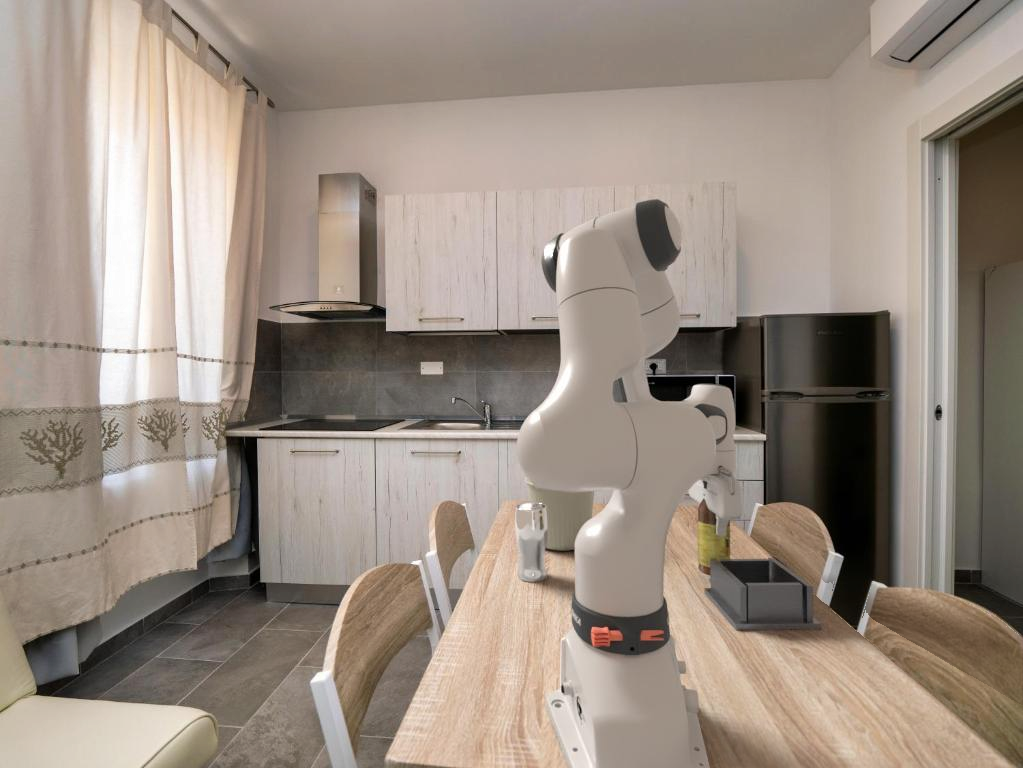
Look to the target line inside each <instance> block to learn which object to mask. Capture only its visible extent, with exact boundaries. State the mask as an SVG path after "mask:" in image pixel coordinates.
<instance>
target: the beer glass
mask: <svg viewBox="0 0 1023 768" xmlns="http://www.w3.org/2000/svg"><path fill="white" fill-rule="evenodd" d="M514 517H515V518H514V530H515V531H514V532H515V537H516V538H515V539H516V545H517V550H518V556H519V557H518V558H519V564H518V565H519V566H518V572H517V577H518V579H519V580H521V581H523V582H528V583H537V582H541V581H544V580H545V579H546V578H547V569H546V563H545V559H546V557H545V555H546V549H547V548H546V543H547V536H548V516H547V506H546V505H545V504H543V503H537V502H530V501H528V502H521V503H517V504H516V506H515V515H514Z"/></svg>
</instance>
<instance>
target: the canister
mask: <svg viewBox="0 0 1023 768" xmlns="http://www.w3.org/2000/svg"><path fill="white" fill-rule="evenodd" d="M524 482H525V483H526V484H527V491H528V493H527V494H528V499H529V501H528V502H537V503H543V504H545V505H546V506H547V516H548V536H547V543H546V549H547V550H552V551H559V552H560V551H561V552H562V551H563V552H565V551H575V540H576V537H577V534H578V532H579V530H580V529H581V527H582V526H583V525H584V524H585V523H586V522H587V521H588V520H589V519H591V518H592V517H593V511H594V510H593V508H594V499H595V497H594V496H595V491H590V492H576V493H570V492H562V491H554V490H548V489H542V488H537V487H535V486H534V485H533V484H532V483H531V482H530V481H529V480H528V479H527V477H525V479H524Z"/></svg>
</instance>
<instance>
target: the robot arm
mask: <svg viewBox="0 0 1023 768" xmlns="http://www.w3.org/2000/svg"><path fill="white" fill-rule="evenodd" d="M681 245H682V229H681V225H680V222H679V220H678V218H677V216H676V214H675V213H674V212H673V210H672V209H670V206H669V205H668V204H667V203H666V202H664V201H662V200H660V199H657V198H656V199H648V200H642V201H639V202H637V203H635V205H633V206H629V207H625V208H623V209H619V210H616V211H613V212H610V213H607V214H604V215H601V216H596V217H594V218H592V219H590V220H587V221H585V222H583V223H581V224H579V225H577V226H576V227H574V228H571V229H570V230H569V231H566V232H565V233H564V232H561V233H559V234H557V235H556V236H555V237H553V238H552V239H550V240H549V241H548V242H547V243H546V244H545V246H544V249H543V251H542V254H541V267H542V268H541V269H542V272H543V275H544V278H545V281H546V282H547V283H546V284H548V286H549V288H550V289H551V290H552V291H553V292H554V293H555V294H556V297H555V298H556V308H557V316H558V325H559V326H558V327H559V328H558V329H559V339H560V342H559V343H560V365H559V370H558V375H557V378H556V380H555V383H554V385H553V387H552V389H551V391H550V392H549V393H548V396H547V397H545V399H544V401H542V403H541V404H539V406H537V408H536V409H534V410H533V411H532V412H531V413H529V415H528V416H527V417H526V419H524V421H523V423H522V425H521V427H520V429H519V431H518V435H517V440H516V456H517V462H518V464H519V466H520V469H521V470H522V473H523V474H524V476H525V478H527V479H528V480H529V481H530V482H531V483H532V484H533V485H534V486H535V487H537V488H542V489H548V490H554V491H562V492H570V493H576V492H590V491H594V492H601V491H603V492H604V491H613V492H612V494H611V495H612V496H610V497H611V498H610V500H609V501H608V503H607V504H606V505H605V507H604V508H603V509H602V510H601V511H600V512H599V513H597V514H595V515H594V516H592V518H591V519H589V520H588V521H587V522H586V523H585V524H584V525H583V526H582V527H581V529H580V530H579V532H578V534H577V537H576V540H575V549H574V590H573V591H572V594H571V595H572V597H571V603H570V612H571V624H572V627H570V629H569V630H568V632H567V633H566V634H565V635H563V637H562V638H561V640H560V652H559V653H560V657H559V660H560V661H559V688H558V689H555V690H554V691H551V692H550V693H548V695H547V696H546V701H545V708H546V710H547V713H548V715H549V718H550V721H551V724H552V726H553V728H554V731H555V734H556V737H557V738H558V742H559V744H560V746H561V749H562V751H563V754H564V757H565V759H566V762H567V765H568V768H711V767H710V763H709V758H708V754H707V750H706V746H705V741H704V738H703V734H702V729H701V724H700V721H699V717H698V713H700V712H699V711H700V702H699V701H700V700H699V695H698V691H697V690H695V689H693V688H686V685H684V684H683V683H682V679H681V675H686V674H687V665H686V662H685V661H683V660H678V658H677V653H676V638H675V637H673V636H672V634H671V630H670V614H669V610H668V603H667V599H666V598H665V595H664V591H665V590H664V587H665V586H664V580H665V579H664V578H665V577H664V576H665V575H664V573H665V556H666V555H665V554H666V545H667V544H666V543H667V537H668V533H669V530H670V527H671V525H672V521H673V519H674V516H675V514H676V512H677V510H678V508H679V506H680V505H681V503H682V500H683V499H684V497H685V496H686V495H687V493H688V494H689V497H691V499H693V500H695V502H697V503H698V505H699V504H700V503H701V501H702V500H703V499H705V501H706V504H707V507H708V509H709V510H710V511H712V512H713V513H715V514H716V519H717V522H716V526H715V534H716V535H718V536H726V528H727V525H728V522H729V520H730V521H731V520H740V519H741V518H742V515H743V504H742V502H743V501H742V492H741V485H740V481H739V480H738V479H737V478H736V477H734V475H733V474H735V473H736V472H737V460H736V459H737V451H736V449H737V448H736V444H735V439H734V435H735V430H736V411H735V403H734V402H735V401H734V398H733V393H732V390H731V388H729V387H727V386H726V385H723V384H720V383H719V384H714V383H697V384H694V385H693V386H692V387H691V392H690V394H689V396H687V398H685V399H683V400H681V401H673V400H672V401H669V400H667V401H663V400H662V401H661V400H658V399H656V398H655V397H653V395H652V394H651V392H650V386H649V382H648V377H647V372H646V367H645V361H646V359H648V358H650V357H652V356H654V355H656V354H657V353H659V352H660V351H662V350H663V349H664V348H666V347H667V346H668V345H669V344H670V343H671V342H672V341H673V340H674V338H675V337H676V336H677V334H678V332H679V329H680V325H681V314H680V313H681V312H680V308H679V305H678V302H677V299H676V295H675V294H674V291H673V288H672V286H671V283H670V280H669V279H668V276H667V274H666V272H665V271H667V270H668V268H669V266H671V265H672V264H673V263H675V261H676V260H677V259H678V257H679V255H680V253H681V250H682V249H681ZM617 380H618V384H619V385H618V386H619V388H620V389H619V390H620V392H621V397H622V401H623V402H618V401H615V400H614V395H613V394H614V393H613V390H614V388H613V387H614V382H615V381H617ZM703 481H706V482H707V489H705V488H704V484H703ZM703 494H705V496H704V495H703Z"/></svg>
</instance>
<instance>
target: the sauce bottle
mask: <svg viewBox="0 0 1023 768" xmlns="http://www.w3.org/2000/svg"><path fill="white" fill-rule="evenodd" d="M703 484H704V488H705V489H707V482H706V481H703ZM703 495H704V496H705V494H703ZM716 522H717V519H716V514H715V513H713V512H712V511H710V510H709V509H708V507H707V504H706V501H705V499H703V500H702V501H701V503H700V504H699V503H698V507H697V562H698V570H699V571H700V573H702V574H704V575H707V576H710V558H716V559H717V560H718V561H719V559H731V520H729V522H728V525H727V528H726V536H718V535H716V534H715V526H716Z"/></svg>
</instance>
